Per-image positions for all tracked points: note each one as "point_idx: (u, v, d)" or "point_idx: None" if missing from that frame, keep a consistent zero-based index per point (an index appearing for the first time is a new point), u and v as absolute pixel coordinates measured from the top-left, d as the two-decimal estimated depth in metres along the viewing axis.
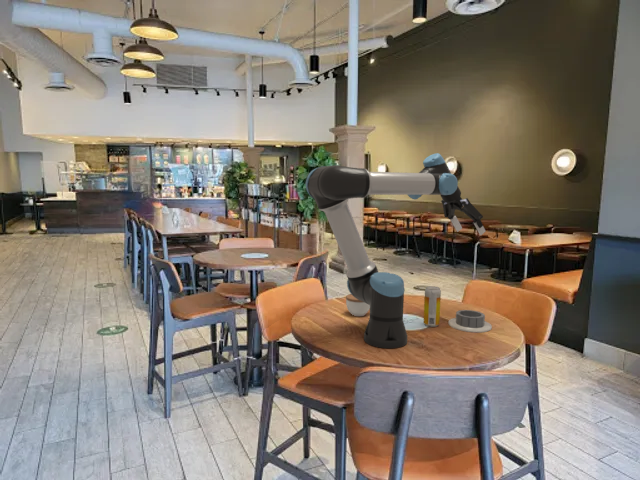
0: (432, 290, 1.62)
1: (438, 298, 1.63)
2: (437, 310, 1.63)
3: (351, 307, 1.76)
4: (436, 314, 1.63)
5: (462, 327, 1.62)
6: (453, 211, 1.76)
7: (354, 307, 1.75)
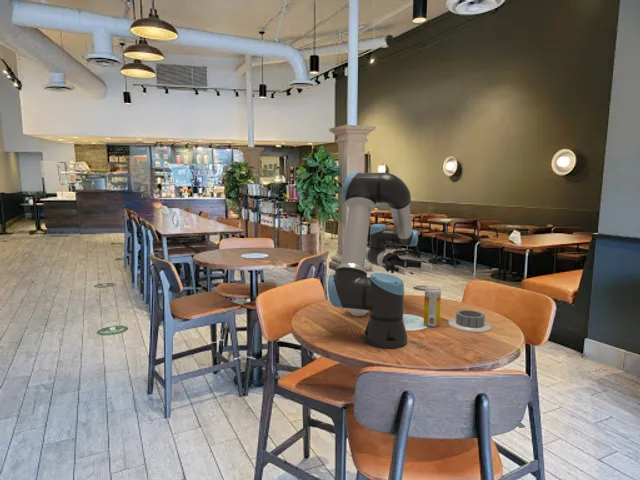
0: (432, 290, 1.62)
1: (438, 298, 1.63)
2: (437, 310, 1.63)
3: None
4: (436, 314, 1.63)
5: (462, 327, 1.62)
6: None
7: None
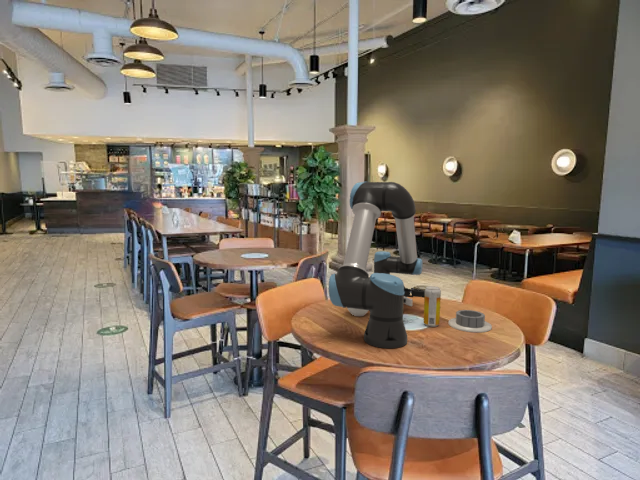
0: (432, 290, 1.62)
1: (438, 298, 1.63)
2: (437, 310, 1.63)
3: None
4: (436, 314, 1.63)
5: (462, 327, 1.62)
6: None
7: None
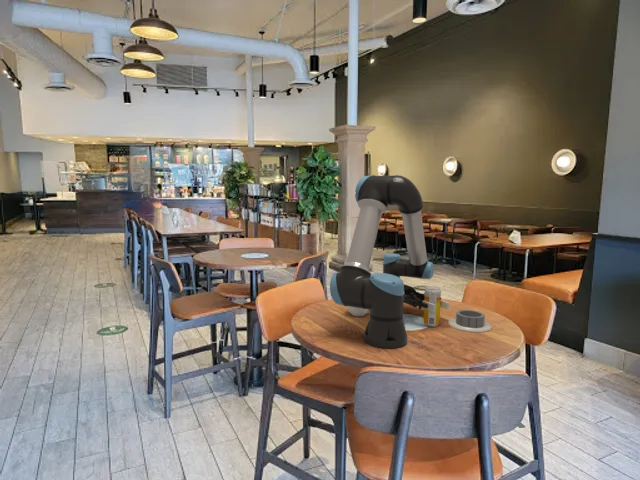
0: (432, 290, 1.62)
1: (438, 298, 1.63)
2: (437, 310, 1.63)
3: (351, 307, 1.76)
4: (436, 314, 1.63)
5: (462, 327, 1.62)
6: None
7: (354, 307, 1.75)
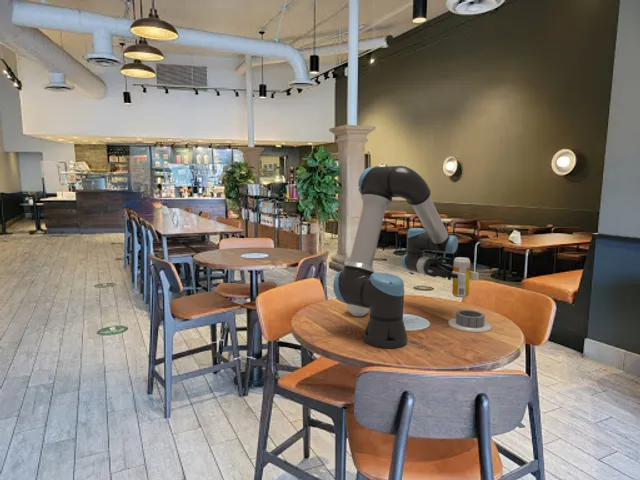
0: (462, 260, 1.62)
1: (468, 268, 1.62)
2: (467, 280, 1.63)
3: (351, 307, 1.76)
4: (466, 285, 1.63)
5: (462, 327, 1.62)
6: None
7: (354, 307, 1.75)
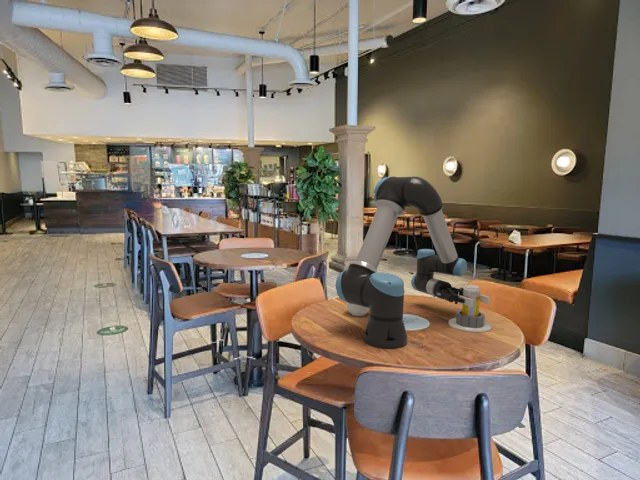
0: (472, 289, 1.61)
1: (477, 297, 1.62)
2: (476, 309, 1.62)
3: (351, 307, 1.76)
4: (475, 313, 1.62)
5: (462, 327, 1.62)
6: None
7: (354, 307, 1.75)
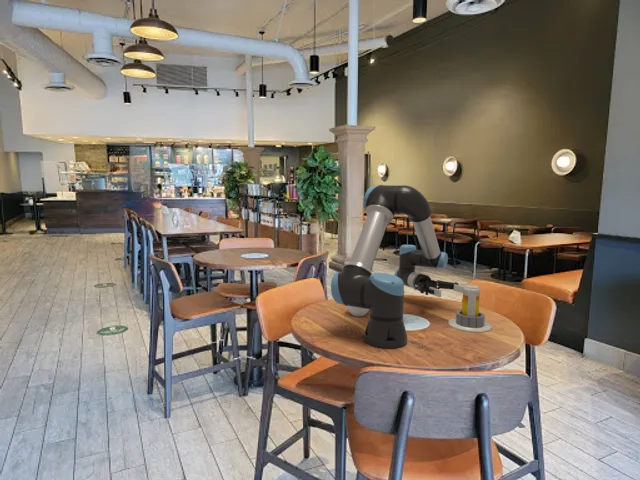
0: (471, 289, 1.62)
1: (477, 297, 1.62)
2: (476, 309, 1.63)
3: (351, 307, 1.76)
4: (475, 313, 1.63)
5: (462, 327, 1.62)
6: None
7: (354, 307, 1.75)
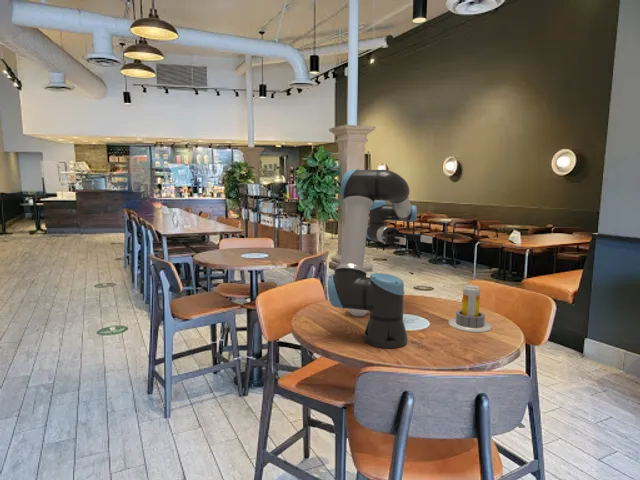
0: (471, 288, 1.62)
1: (477, 297, 1.62)
2: (476, 309, 1.63)
3: None
4: (475, 313, 1.63)
5: (462, 327, 1.62)
6: None
7: None
